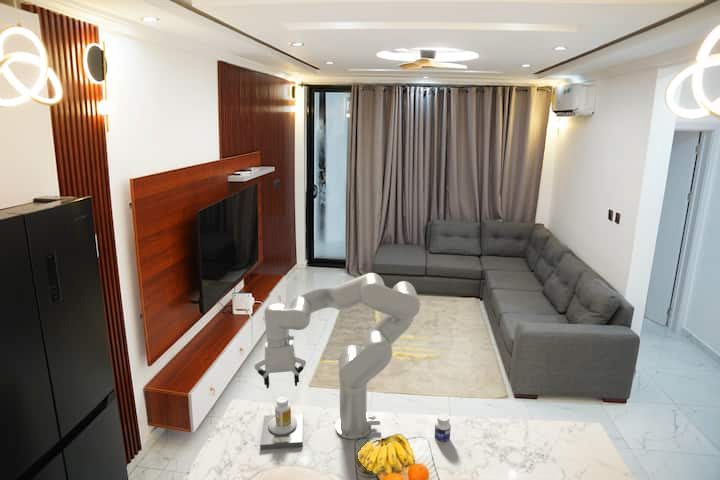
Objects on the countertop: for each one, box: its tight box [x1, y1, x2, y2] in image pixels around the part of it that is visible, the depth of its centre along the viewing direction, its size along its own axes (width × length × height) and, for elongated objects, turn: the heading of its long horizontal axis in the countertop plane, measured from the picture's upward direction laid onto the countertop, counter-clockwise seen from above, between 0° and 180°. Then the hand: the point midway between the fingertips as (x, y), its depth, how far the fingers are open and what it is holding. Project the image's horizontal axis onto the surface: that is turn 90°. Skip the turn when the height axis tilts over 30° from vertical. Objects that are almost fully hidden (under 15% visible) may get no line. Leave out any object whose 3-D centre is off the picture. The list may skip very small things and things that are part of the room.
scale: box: [259, 412, 304, 451], centre depth 173 cm, size 14×16×3 cm
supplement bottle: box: [274, 396, 292, 428], centre depth 173 cm, size 5×5×10 cm
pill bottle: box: [434, 413, 452, 445], centre depth 169 cm, size 5×5×9 cm
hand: (282, 385), depth 170 cm, fingers open, 9 cm apart
